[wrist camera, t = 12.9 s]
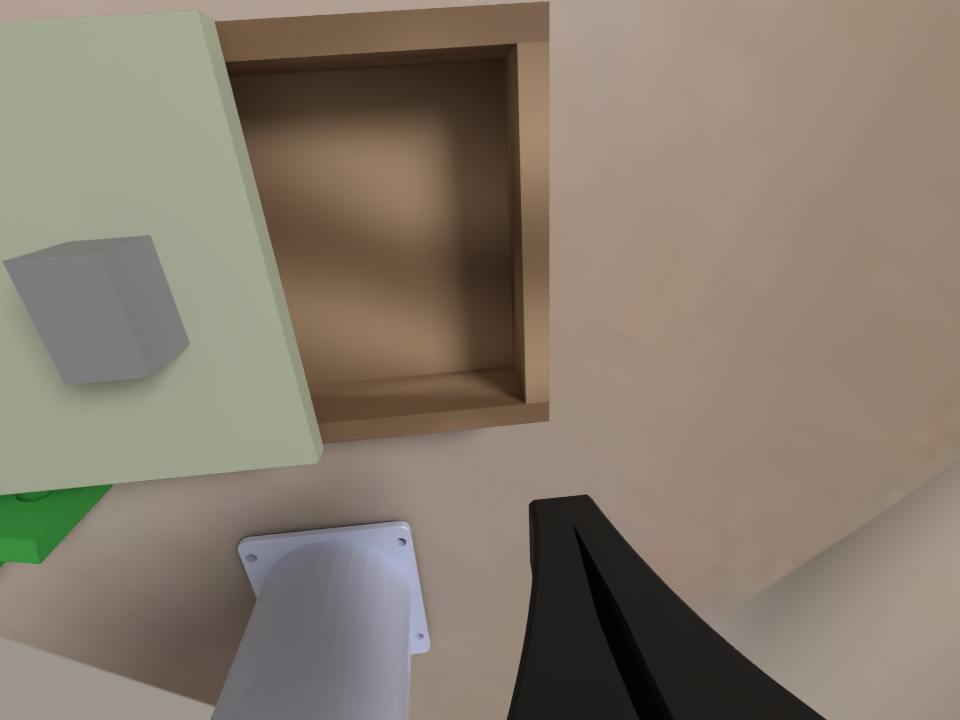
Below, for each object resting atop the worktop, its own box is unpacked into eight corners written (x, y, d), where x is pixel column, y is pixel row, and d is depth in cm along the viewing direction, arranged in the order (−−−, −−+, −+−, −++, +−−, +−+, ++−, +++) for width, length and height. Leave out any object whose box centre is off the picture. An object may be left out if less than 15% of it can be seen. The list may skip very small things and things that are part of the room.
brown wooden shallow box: (531, 375, 20) (549, 421, 17) (138, 411, 19) (79, 467, 16) (525, 29, 14) (549, 0, 11) (-18, 63, 14) (-153, 43, 11)
